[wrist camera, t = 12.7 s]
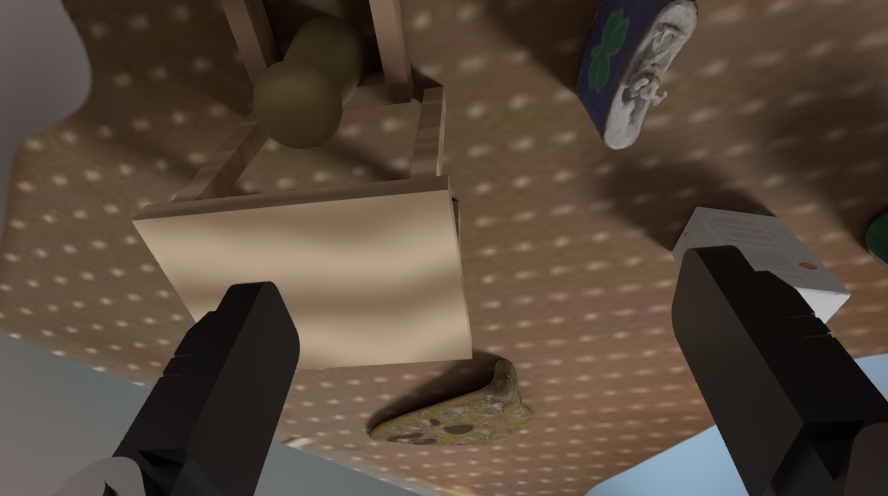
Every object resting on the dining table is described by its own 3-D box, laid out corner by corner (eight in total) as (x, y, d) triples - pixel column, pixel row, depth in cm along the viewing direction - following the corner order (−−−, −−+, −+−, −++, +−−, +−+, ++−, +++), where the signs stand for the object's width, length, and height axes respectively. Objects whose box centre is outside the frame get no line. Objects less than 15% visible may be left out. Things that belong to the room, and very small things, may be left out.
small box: (669, 251, 47) (714, 333, 38) (695, 203, 43) (751, 282, 35) (747, 262, 47) (808, 345, 39) (779, 215, 44) (854, 295, 35)
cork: (343, 0, 34) (302, 43, 25) (385, 78, 37) (363, 140, 28) (274, 38, 36) (214, 91, 27) (320, 110, 39) (280, 178, 30)
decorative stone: (503, 352, 56) (506, 392, 53) (566, 396, 65) (572, 434, 62) (357, 403, 68) (352, 439, 65) (427, 435, 77) (425, 468, 74)
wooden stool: (242, 104, 39) (131, 220, 26) (452, 78, 37) (447, 189, 24) (317, 294, 51) (269, 436, 38) (476, 281, 50) (481, 426, 37)
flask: (599, 103, 38) (639, 168, 29) (564, 95, 38) (593, 158, 29) (655, -27, 32) (725, 6, 24) (615, -38, 32) (670, -8, 23)
